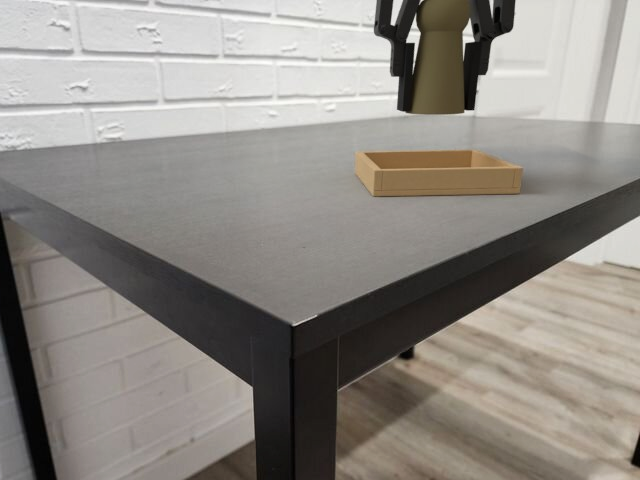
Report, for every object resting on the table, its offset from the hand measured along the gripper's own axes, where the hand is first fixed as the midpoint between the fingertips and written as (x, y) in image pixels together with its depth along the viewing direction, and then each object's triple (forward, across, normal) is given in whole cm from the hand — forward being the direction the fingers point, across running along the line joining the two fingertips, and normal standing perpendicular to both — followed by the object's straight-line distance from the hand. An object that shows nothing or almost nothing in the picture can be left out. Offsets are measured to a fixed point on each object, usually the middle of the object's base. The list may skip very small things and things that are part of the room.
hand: (434, 109), depth 54 cm
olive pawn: (0, 0, 0) cm, 0 cm away
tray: (+8, 0, 0) cm, 8 cm away
